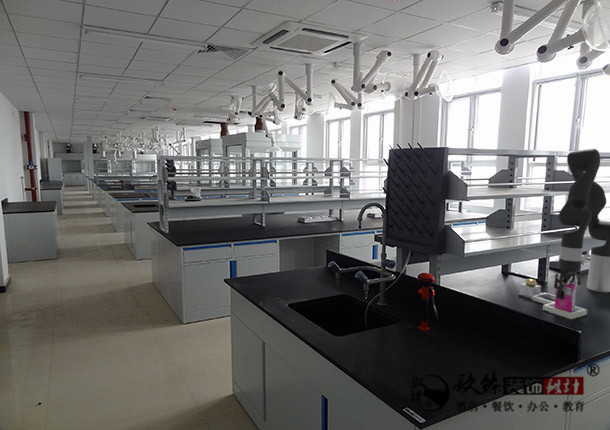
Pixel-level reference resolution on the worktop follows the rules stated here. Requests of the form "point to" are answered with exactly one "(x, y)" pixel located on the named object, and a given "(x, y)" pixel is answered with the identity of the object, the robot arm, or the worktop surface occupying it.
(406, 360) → the worktop surface
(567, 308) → the supplement box
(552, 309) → the tray
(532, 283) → the yellow knob
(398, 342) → the worktop surface
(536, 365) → the worktop surface
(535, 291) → the socket block
